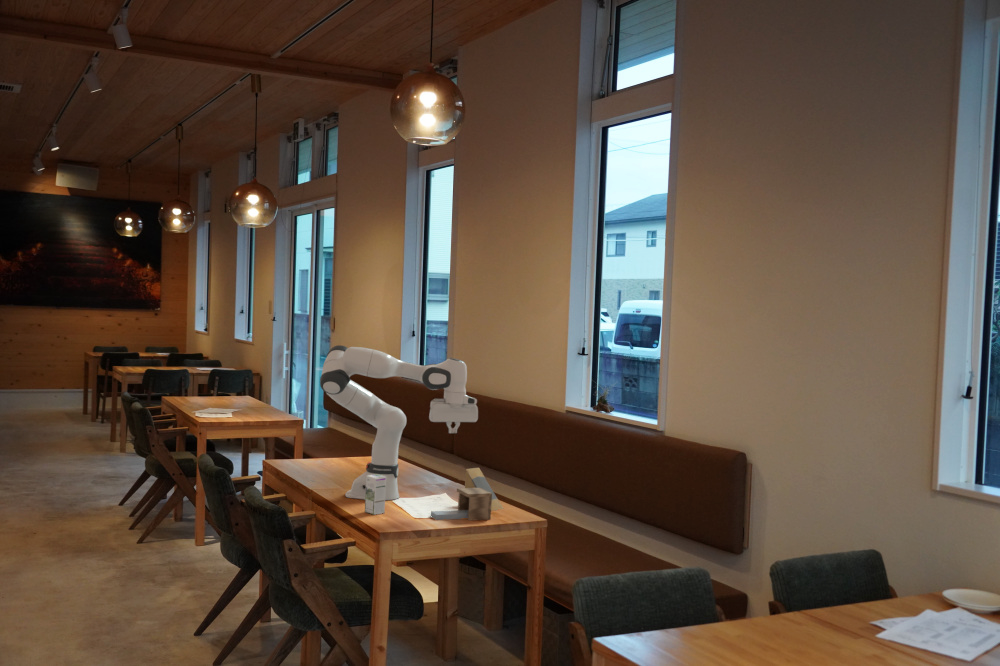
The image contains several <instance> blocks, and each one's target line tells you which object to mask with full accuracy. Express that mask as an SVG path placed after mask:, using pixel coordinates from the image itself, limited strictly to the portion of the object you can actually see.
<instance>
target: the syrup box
mask: <svg viewBox="0 0 1000 666" xmlns="http://www.w3.org/2000/svg"><path fill="white" fill-rule="evenodd" d="M385 492H386V477H385V476H381V475H377V474H374V475H368V476H367V477H366V496H365V499H364V501H365V502H364V513H367V514H369V513H370V514H369V515H374V516H376V514H377V515H383V514H385V510H386V509H385V508H386V500H385ZM382 513H383V514H382Z"/></svg>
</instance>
